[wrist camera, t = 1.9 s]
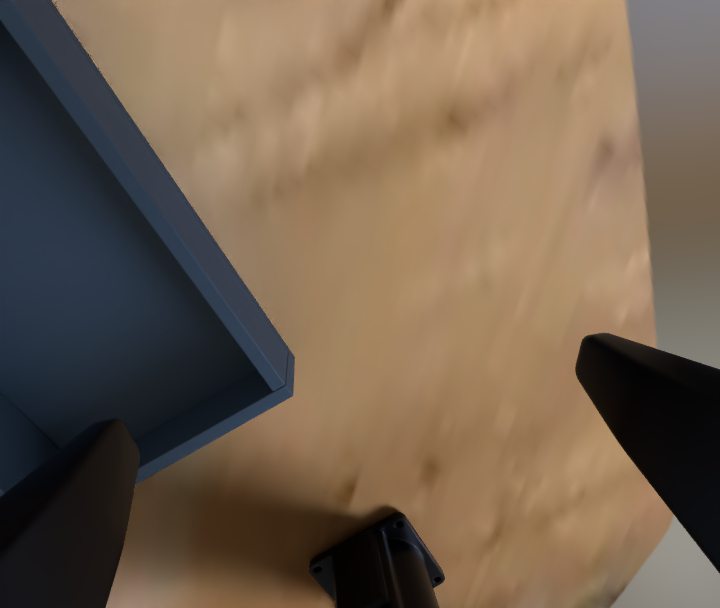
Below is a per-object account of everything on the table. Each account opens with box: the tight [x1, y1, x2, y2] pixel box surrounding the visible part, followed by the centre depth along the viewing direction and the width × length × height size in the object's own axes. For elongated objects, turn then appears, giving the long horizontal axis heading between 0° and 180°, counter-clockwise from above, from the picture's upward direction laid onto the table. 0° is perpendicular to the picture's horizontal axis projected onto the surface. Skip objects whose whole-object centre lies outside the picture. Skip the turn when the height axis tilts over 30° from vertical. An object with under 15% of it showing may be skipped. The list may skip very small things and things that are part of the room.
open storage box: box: [0, 0, 295, 497], centre depth 15 cm, size 17×12×4 cm
